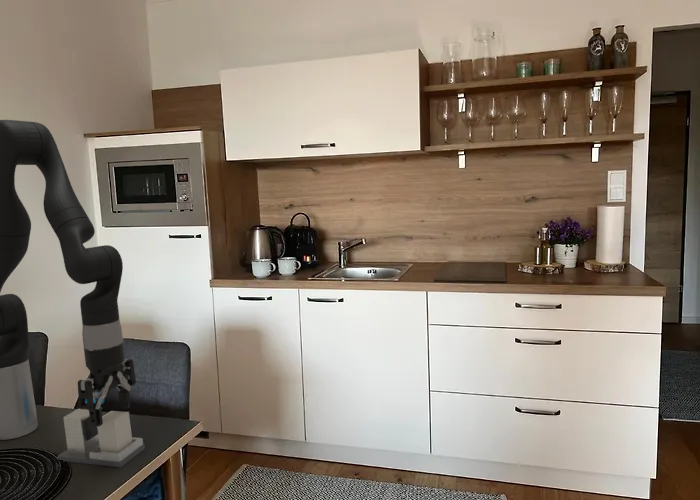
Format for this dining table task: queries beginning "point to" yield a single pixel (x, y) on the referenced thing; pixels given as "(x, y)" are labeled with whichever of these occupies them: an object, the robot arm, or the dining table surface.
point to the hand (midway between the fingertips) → (111, 416)
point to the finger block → (115, 432)
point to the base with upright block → (92, 443)
